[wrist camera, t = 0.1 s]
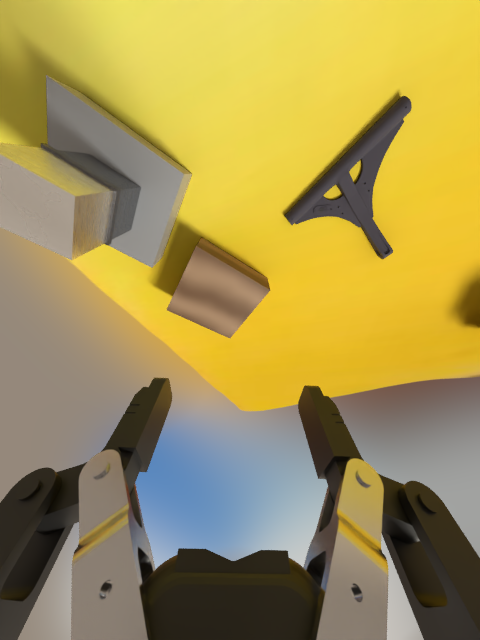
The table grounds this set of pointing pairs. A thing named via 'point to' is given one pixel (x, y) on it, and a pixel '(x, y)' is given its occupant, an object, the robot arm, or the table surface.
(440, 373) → the table surface
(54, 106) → the stand
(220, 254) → the stand
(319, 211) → the bracket
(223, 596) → the robot arm
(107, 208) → the block
